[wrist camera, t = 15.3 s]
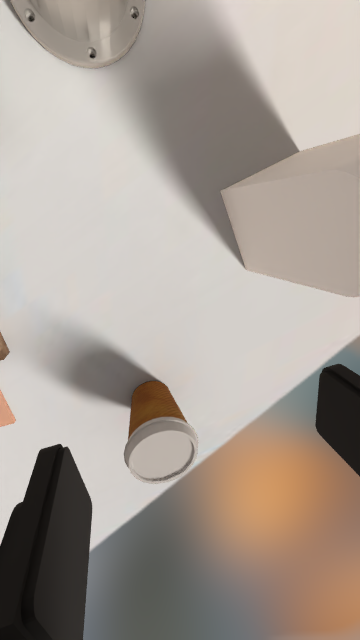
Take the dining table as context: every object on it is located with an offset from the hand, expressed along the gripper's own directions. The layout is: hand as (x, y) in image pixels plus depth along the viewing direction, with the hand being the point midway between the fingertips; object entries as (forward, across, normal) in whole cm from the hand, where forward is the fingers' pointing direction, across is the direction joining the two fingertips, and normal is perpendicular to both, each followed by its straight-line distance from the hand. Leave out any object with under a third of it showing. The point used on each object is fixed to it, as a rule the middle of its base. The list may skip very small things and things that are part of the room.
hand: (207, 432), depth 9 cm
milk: (+28, -20, -5) cm, 35 cm away
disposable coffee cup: (+28, +2, +20) cm, 35 cm away
